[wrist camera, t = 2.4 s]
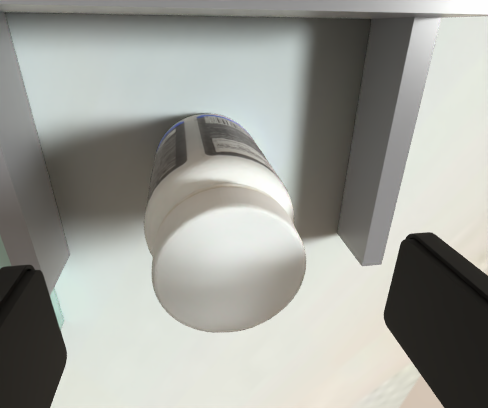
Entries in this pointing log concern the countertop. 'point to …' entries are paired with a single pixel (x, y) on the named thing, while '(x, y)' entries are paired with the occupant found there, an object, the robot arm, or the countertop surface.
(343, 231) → the bay
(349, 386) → the countertop surface
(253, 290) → the pill bottle
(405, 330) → the robot arm
